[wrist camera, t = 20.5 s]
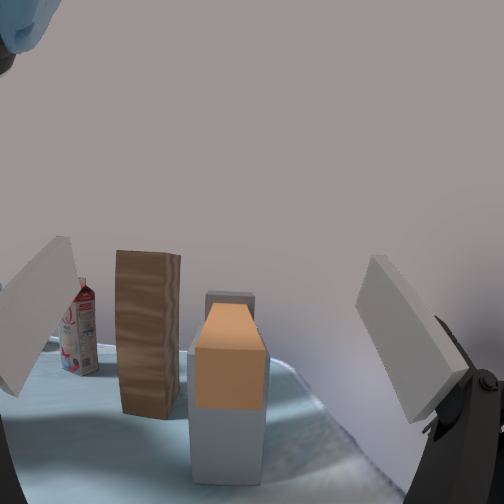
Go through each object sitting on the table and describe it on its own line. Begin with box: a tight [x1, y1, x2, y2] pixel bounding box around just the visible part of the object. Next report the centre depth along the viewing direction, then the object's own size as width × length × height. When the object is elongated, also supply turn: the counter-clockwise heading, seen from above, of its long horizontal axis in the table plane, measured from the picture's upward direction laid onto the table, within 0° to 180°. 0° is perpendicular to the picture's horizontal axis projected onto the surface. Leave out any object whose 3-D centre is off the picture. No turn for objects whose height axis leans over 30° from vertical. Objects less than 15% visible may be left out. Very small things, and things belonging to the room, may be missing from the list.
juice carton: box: [58, 277, 99, 376], centre depth 54 cm, size 7×7×22 cm
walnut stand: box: [115, 250, 181, 420], centre depth 47 cm, size 14×8×28 cm, turn 4°
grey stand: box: [187, 326, 270, 486], centre depth 32 cm, size 13×8×18 cm, turn 4°
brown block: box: [195, 291, 266, 410], centre depth 27 cm, size 24×6×5 cm, turn 4°
